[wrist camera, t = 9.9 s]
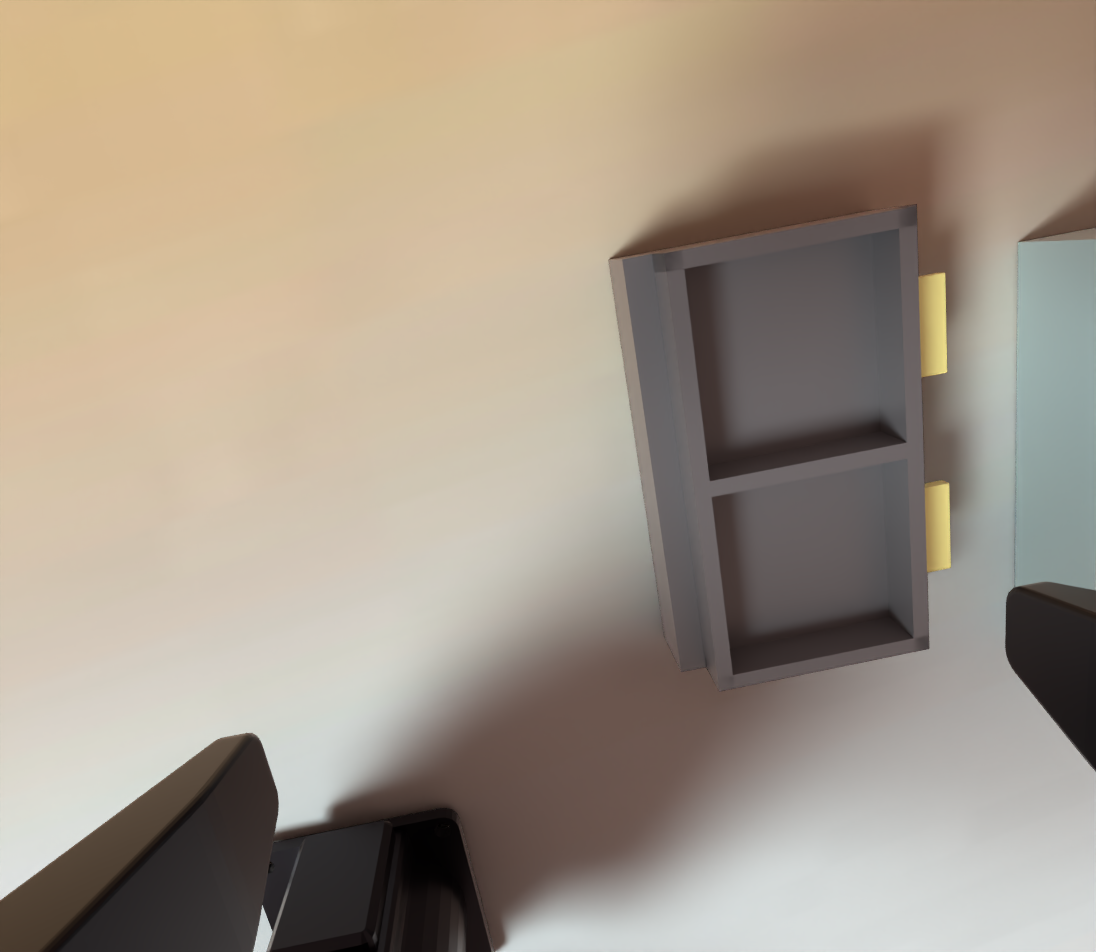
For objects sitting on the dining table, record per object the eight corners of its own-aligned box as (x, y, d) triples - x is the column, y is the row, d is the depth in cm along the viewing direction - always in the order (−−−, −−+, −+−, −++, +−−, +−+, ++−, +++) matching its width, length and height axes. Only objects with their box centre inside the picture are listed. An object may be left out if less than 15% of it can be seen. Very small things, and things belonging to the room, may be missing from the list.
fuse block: (906, 587, 22) (974, 639, 19) (664, 636, 22) (692, 696, 19) (891, 206, 19) (969, 195, 16) (608, 259, 19) (631, 259, 16)
